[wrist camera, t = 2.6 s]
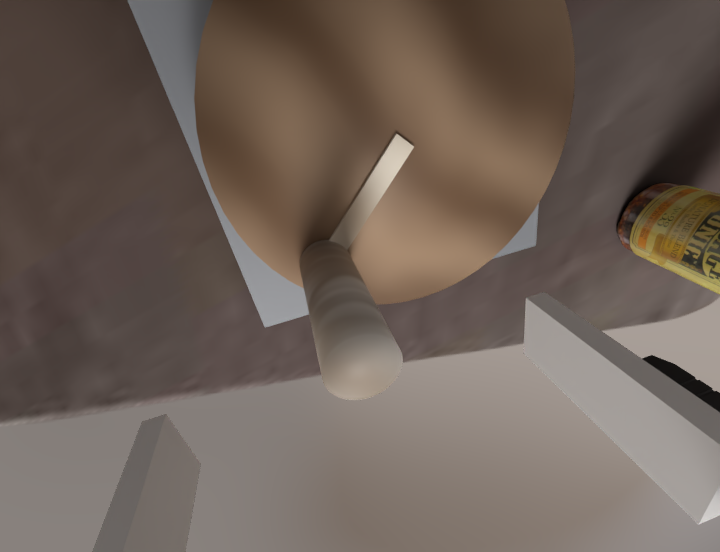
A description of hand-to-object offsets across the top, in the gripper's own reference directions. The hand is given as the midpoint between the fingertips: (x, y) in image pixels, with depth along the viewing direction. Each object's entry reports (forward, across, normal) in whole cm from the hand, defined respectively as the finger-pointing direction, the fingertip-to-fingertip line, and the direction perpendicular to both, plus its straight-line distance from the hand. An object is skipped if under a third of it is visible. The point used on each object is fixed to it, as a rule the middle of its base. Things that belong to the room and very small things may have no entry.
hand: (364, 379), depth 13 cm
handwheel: (+12, +6, +6) cm, 15 cm away
